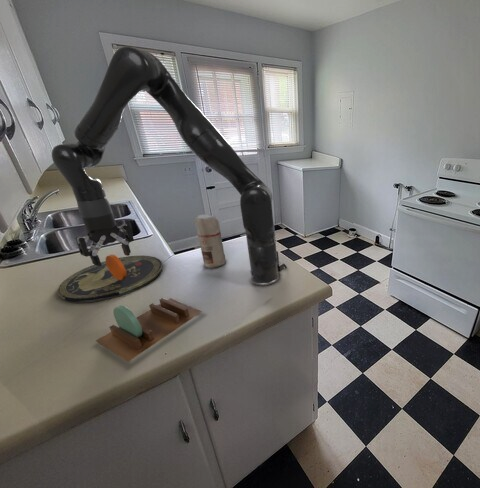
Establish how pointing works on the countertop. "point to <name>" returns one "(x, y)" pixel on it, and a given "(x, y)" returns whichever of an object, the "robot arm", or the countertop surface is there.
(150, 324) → the rack
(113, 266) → the orange disc
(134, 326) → the green disc
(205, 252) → the spray can
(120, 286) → the decorative plate
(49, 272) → the countertop surface
